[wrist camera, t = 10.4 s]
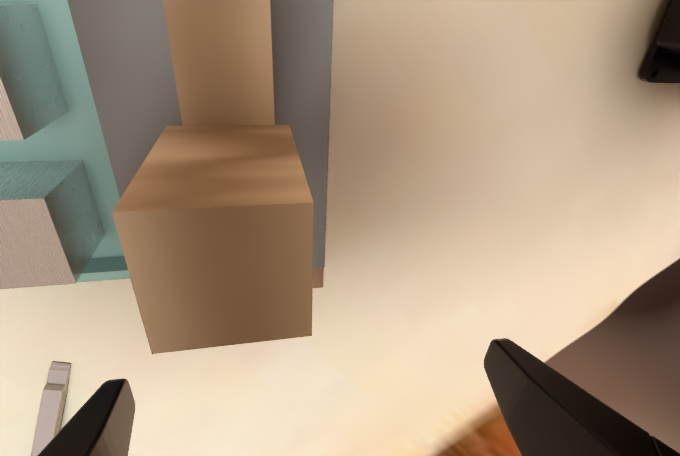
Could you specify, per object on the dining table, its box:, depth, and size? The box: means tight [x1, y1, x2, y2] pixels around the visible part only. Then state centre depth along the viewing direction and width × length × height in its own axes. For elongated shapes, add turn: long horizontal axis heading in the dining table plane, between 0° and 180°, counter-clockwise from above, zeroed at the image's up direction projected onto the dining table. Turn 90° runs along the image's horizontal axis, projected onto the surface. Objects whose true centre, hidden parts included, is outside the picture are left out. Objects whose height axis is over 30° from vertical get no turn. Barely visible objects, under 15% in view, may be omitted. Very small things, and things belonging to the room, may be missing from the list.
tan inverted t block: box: [112, 0, 314, 354], centre depth 13 cm, size 4×14×9 cm, turn 177°
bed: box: [67, 0, 333, 288], centre depth 18 cm, size 9×16×3 cm, turn 177°
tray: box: [0, 0, 130, 282], centre depth 16 cm, size 8×14×2 cm, turn 177°
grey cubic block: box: [0, 160, 105, 289], centre depth 17 cm, size 4×4×4 cm
